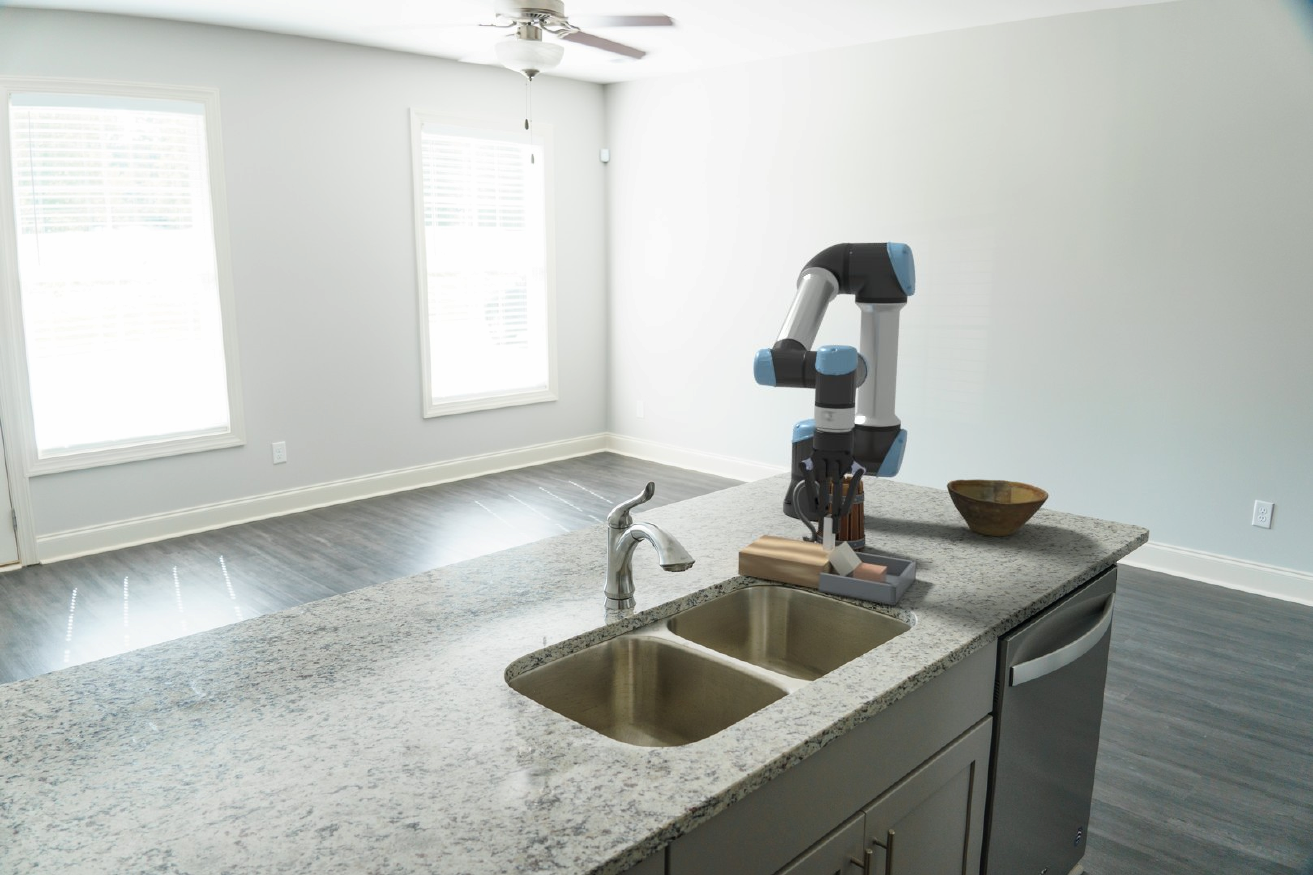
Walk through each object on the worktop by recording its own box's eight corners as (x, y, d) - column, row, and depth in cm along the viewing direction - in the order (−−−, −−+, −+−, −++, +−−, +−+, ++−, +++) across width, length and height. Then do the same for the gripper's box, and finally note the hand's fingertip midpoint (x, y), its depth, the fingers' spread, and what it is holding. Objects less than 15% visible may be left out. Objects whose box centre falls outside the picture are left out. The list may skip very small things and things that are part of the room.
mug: (862, 541, 195) (865, 475, 192) (868, 556, 185) (872, 486, 182) (790, 538, 196) (792, 473, 194) (792, 554, 186) (795, 484, 183)
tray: (845, 566, 178) (845, 550, 177) (915, 578, 171) (916, 561, 171) (818, 591, 164) (819, 573, 164) (894, 605, 158) (895, 586, 157)
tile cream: (834, 548, 173) (845, 540, 171) (850, 569, 172) (861, 561, 170) (825, 556, 168) (837, 547, 167) (842, 577, 167) (854, 569, 166)
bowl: (1053, 526, 207) (1056, 484, 205) (1035, 552, 188) (1039, 506, 186) (957, 512, 218) (960, 472, 217) (931, 535, 200) (934, 492, 198)
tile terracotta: (886, 566, 168) (886, 581, 169) (861, 562, 170) (860, 577, 171) (879, 574, 164) (878, 589, 164) (853, 569, 166) (852, 585, 167)
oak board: (763, 555, 185) (764, 534, 184) (842, 568, 177) (843, 547, 176) (738, 573, 174) (738, 551, 173) (821, 589, 166) (822, 566, 165)
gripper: (793, 428, 166) (789, 548, 171) (862, 434, 160) (856, 559, 164) (807, 422, 173) (803, 538, 177) (873, 428, 166) (867, 548, 171)
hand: (828, 548), depth 171 cm, fingers closed
